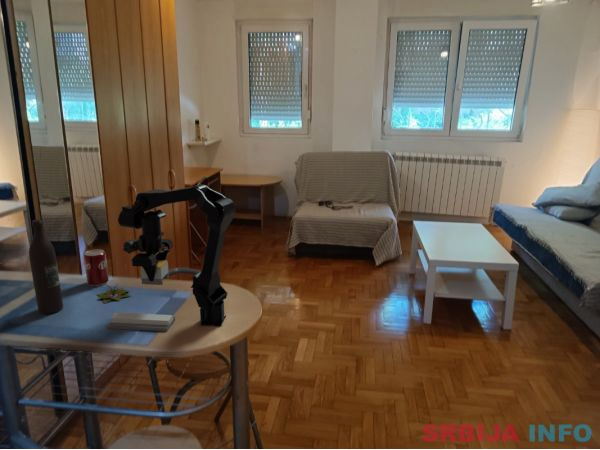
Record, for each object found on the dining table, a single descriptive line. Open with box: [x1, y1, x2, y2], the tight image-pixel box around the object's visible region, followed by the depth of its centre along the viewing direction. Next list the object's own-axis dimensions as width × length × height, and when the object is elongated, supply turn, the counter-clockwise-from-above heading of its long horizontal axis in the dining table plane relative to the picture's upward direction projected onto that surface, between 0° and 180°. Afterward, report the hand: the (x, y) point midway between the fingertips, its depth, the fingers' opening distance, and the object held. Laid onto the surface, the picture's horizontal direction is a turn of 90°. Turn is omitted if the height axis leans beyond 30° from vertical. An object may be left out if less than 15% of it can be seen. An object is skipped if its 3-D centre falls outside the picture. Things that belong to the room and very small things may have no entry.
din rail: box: [107, 312, 176, 332], centre depth 132 cm, size 18×7×2 cm, turn 86°
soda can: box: [83, 249, 110, 287], centre depth 160 cm, size 7×7×12 cm
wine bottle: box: [28, 219, 64, 315], centre depth 136 cm, size 7×7×30 cm
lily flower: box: [96, 282, 131, 304], centre depth 151 cm, size 12×12×5 cm
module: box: [140, 259, 170, 286], centre depth 139 cm, size 6×6×6 cm
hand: (155, 277), depth 139 cm, fingers closed on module, 6 cm apart
